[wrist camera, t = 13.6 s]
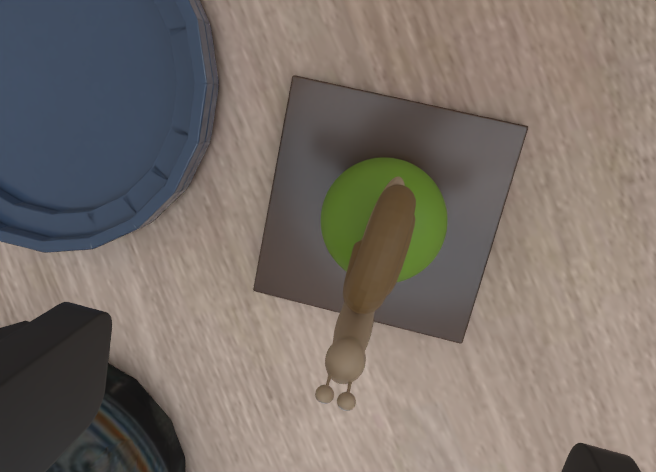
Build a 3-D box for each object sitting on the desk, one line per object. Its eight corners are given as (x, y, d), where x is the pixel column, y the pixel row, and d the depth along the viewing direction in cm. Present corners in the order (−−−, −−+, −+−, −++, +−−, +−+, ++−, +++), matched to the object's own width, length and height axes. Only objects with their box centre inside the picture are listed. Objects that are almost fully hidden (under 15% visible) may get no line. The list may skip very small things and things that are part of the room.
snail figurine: (312, 262, 27) (242, 381, 16) (347, 137, 25) (297, 169, 14) (416, 294, 27) (423, 441, 15) (458, 170, 25) (503, 230, 13)
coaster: (294, 75, 26) (292, 75, 25) (526, 125, 25) (528, 126, 24) (255, 287, 29) (252, 291, 28) (461, 339, 28) (462, 344, 27)
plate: (-97, -146, 26) (-143, -168, 24) (247, -79, 24) (232, -96, 22) (-95, 200, 30) (-133, 207, 28) (194, 273, 29) (178, 287, 27)
